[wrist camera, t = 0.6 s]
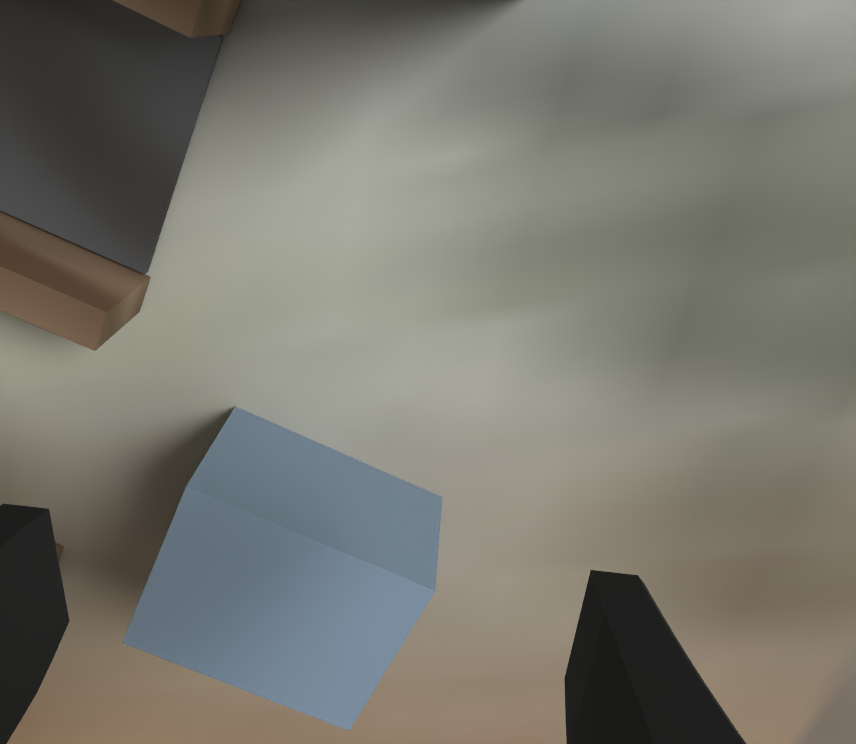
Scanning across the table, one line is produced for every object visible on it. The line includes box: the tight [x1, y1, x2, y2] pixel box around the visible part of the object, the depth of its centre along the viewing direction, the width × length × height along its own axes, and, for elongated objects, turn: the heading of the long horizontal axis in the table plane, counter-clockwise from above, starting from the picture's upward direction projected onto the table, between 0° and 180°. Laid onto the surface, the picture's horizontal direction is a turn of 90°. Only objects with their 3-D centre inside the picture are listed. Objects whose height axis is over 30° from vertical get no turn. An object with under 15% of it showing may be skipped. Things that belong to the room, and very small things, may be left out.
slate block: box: [122, 407, 442, 731], centre depth 21 cm, size 5×6×4 cm
